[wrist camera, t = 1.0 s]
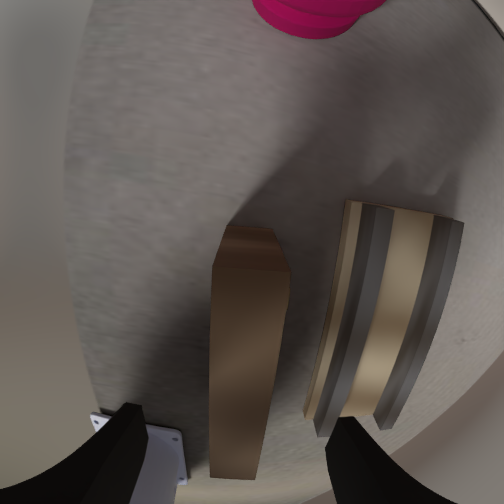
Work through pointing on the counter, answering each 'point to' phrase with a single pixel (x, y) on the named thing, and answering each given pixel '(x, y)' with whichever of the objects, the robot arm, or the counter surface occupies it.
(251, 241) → the door panel
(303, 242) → the counter surface
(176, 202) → the counter surface
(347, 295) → the track board
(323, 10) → the pepper mill
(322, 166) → the counter surface
